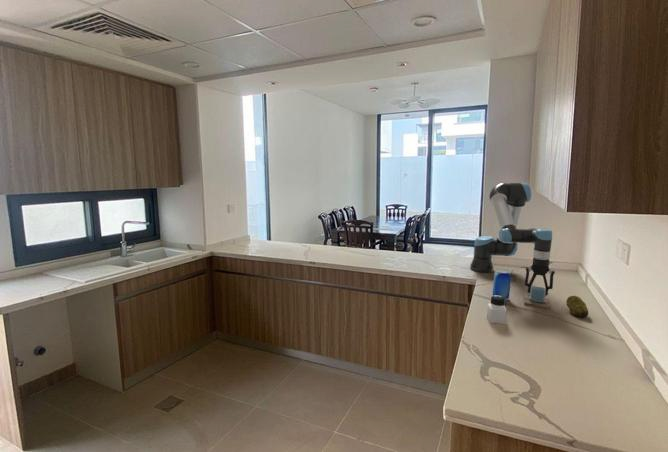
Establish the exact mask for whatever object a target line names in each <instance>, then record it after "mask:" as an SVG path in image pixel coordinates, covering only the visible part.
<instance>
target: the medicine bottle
mask: <svg viewBox="0 0 668 452" xmlns="http://www.w3.org/2000/svg"><path fill="white" fill-rule="evenodd" d="M505 302H506V301H505V299H504V298H503V297H501V296H497V295H495V296H493V295H492V296H491V297H490V302H489V303H487V309H486V311H487V312H486V318H487V319H488V321H489V323H490V324H500V325H501V324H502V325H506V323H507V313H508V311H507V308H506V307H505Z"/></svg>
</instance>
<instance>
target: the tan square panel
mask: <svg viewBox="0 0 668 452" xmlns="http://www.w3.org/2000/svg"><path fill="white" fill-rule="evenodd" d="M529 296H530V295H523V304H524V306H530V307H537V308H543V309H550V310H551V303H550V300H549V298H545V301H543V303H542V302H535V301H531V299H529Z"/></svg>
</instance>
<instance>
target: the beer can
mask: <svg viewBox="0 0 668 452" xmlns="http://www.w3.org/2000/svg"><path fill="white" fill-rule="evenodd" d="M511 280H512V275H511V272H510V271H509V270H507V269H503V268H502V269H500V268H498V269H496V271H495V273H493V285H492V286H493V287H492V296H495V295H497V296H501V297H503V298H504V299H505V302H506V301H508V300H509V298H510V292H511V291H510V290H511Z"/></svg>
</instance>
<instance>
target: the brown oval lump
mask: <svg viewBox="0 0 668 452" xmlns="http://www.w3.org/2000/svg"><path fill="white" fill-rule="evenodd" d="M565 302H566V303H565V304H566V307H567V308H568V309H569V312H570V313H571V314H572V315H574V316H576V317H579V318H583V319H584V318H586V317H588V316H589V309H588V307H587V304H586V302H585V301H584V300H583V299H582V298H581V297H580V296H577V295H569V296H568V297H567V299H566V301H565Z"/></svg>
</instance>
